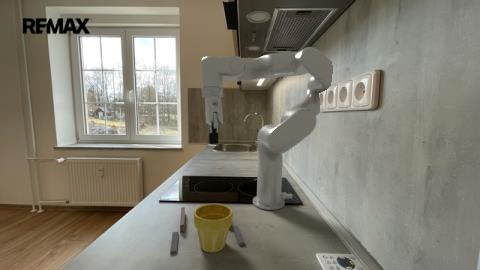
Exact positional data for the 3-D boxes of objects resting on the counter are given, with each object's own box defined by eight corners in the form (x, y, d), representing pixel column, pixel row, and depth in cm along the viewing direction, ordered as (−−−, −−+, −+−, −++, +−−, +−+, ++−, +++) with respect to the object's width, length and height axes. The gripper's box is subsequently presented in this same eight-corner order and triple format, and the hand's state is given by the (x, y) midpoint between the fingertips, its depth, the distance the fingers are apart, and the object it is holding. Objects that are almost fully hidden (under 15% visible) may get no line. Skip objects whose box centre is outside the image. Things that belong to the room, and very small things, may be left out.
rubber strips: (237, 227, 69) (237, 225, 69) (244, 245, 60) (244, 242, 60) (172, 234, 64) (172, 232, 64) (170, 254, 56) (170, 251, 56)
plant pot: (228, 232, 66) (228, 201, 65) (235, 254, 56) (236, 218, 55) (193, 236, 64) (193, 204, 63) (194, 260, 54) (194, 222, 53)
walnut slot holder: (224, 210, 80) (224, 204, 80) (230, 227, 69) (230, 220, 69) (181, 214, 77) (181, 207, 77) (180, 232, 65) (180, 225, 65)
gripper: (227, 91, 72) (228, 146, 75) (218, 94, 87) (219, 140, 89) (204, 91, 70) (206, 147, 72) (199, 94, 84) (201, 141, 87)
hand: (213, 143), depth 81 cm, fingers closed
